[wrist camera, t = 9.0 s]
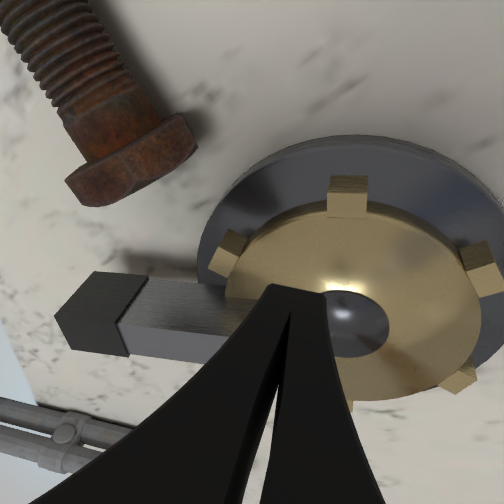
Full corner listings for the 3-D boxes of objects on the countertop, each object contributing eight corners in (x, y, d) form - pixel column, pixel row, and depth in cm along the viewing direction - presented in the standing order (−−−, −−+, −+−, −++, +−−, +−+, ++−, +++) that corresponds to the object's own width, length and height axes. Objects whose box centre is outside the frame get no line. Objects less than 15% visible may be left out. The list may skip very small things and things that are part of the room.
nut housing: (592, 166, 15) (612, 186, 14) (447, 400, 24) (451, 425, 23) (205, 110, 17) (191, 122, 16) (207, 342, 26) (198, 362, 25)
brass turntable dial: (526, 177, 14) (569, 240, 11) (456, 403, 21) (469, 479, 18) (63, 173, 19) (1, 216, 16) (137, 358, 26) (104, 412, 23)
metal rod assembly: (250, 448, 33) (233, 514, 29) (250, 465, 35) (234, 529, 31) (-13, 384, 38) (-57, 432, 34) (-2, 401, 40) (-43, 449, 36)
